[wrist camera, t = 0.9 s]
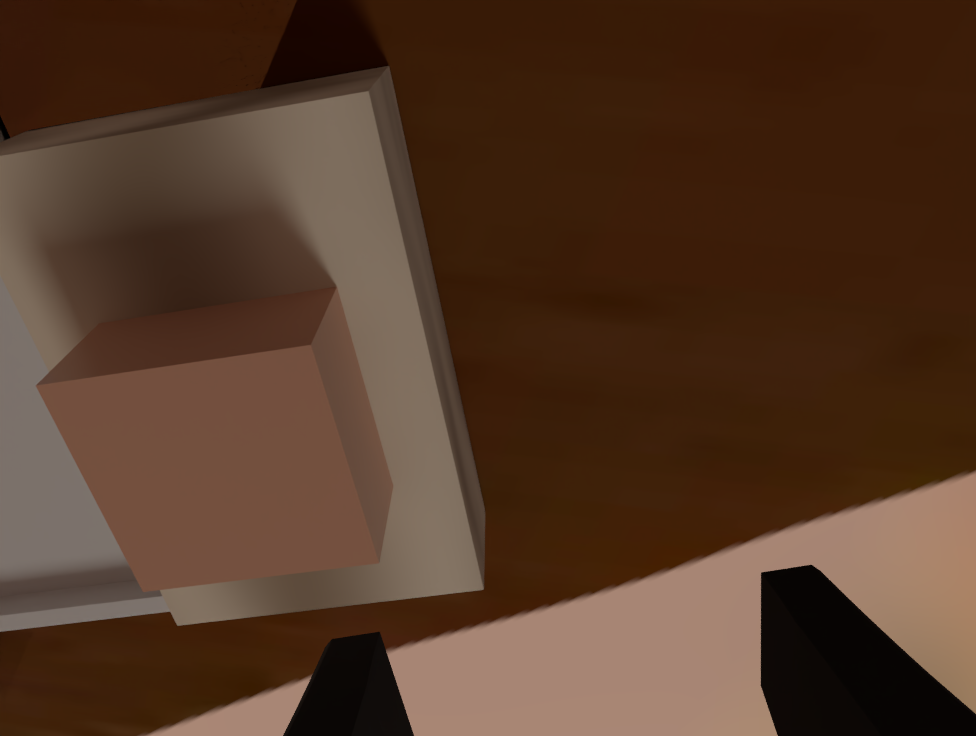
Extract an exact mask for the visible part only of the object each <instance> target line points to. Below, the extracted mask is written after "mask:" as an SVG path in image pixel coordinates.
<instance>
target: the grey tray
mask: <svg viewBox="0 0 976 736" xmlns="http://www.w3.org/2000/svg"><path fill="white" fill-rule="evenodd" d="M7 139H10V136H9V134H8V132H7V129H6V127H5V125H4V123H3V121H2V118H1V116H0V142H2V141H5V140H7ZM48 373H49V371H48V369H47V367H46V365H45V363H44V361H43V359H42V357H41V355H40V353H39V351H38V349H37V347H36V345H35V343H34V341H33V339H32V337H31V335H30V333H29V331H28V329H27V327H26V325H25V323H24V321H23V319H22V317H21V315H20V313H19V312H18V310H17V308H16V306H15V304H14V302H13V300H12V298H11V296H10V294H9V292H8V290H7V288H6V286H5V284H4V282H3V280H2V278H1V276H0V632H1V631H10V630H18V629H27V628H35V627H43V626H52V625H60V624H68V623H77V622H85V621H94V620H102V619H110V618H119V617H127V616H136V615H144V614H152V613H161V612H169V611H170V610H169V608H168V606H167V604H166V602H165V600H164V598H163V596H162V594H161V592H160V590H156V591H148V592H143V591H142V589H141V587H140V585H139V583H138V581H137V580H136V578H135V576H134V574H133V572H132V570H131V568H130V566H129V564H128V562H127V560H126V558H125V556H124V555H123V553H122V551H121V549H120V547H119V545H118V543H117V541H116V539H115V537H114V535H113V533H112V532H111V530H110V528H109V526H108V524H107V522H106V520H105V518H104V516H103V514H102V512H101V510H100V508H99V507H98V505H97V503H96V501H95V499H94V497H93V495H92V493H91V491H90V489H89V487H88V485H87V484H86V482H85V480H84V478H83V476H82V474H81V472H80V470H79V468H78V466H77V464H76V462H75V460H74V459H73V457H72V455H71V453H70V451H69V449H68V447H67V445H66V443H65V441H64V439H63V437H62V436H61V434H60V432H59V430H58V428H57V426H56V424H55V422H54V420H53V418H52V416H51V414H50V412H49V411H48V409H47V407H46V405H45V403H44V401H43V399H42V397H41V395H40V393H39V391H38V389H37V388H36V385H37V384H38V383H39V382H40V381H41V380H42V379H43V378H44V377H45V376H46V375H47V374H48Z"/></svg>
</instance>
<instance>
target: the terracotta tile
mask: <svg viewBox="0 0 976 736" xmlns="http://www.w3.org/2000/svg"><path fill="white" fill-rule="evenodd" d="M36 388H37V389H38V391H39V393H40V395H41V397H42V399H43V401H44V403H45V405H46V407H47V409H48V411H49V412H50V414H51V416H52V418H53V420H54V422H55V424H56V426H57V428H58V430H59V432H60V434H61V436H62V437H63V439H64V441H65V443H66V445H67V447H68V449H69V451H70V453H71V455H72V457H73V459H74V460H75V462H76V464H77V466H78V468H79V470H80V472H81V474H82V476H83V478H84V480H85V482H86V484H87V485H88V487H89V489H90V491H91V493H92V495H93V497H94V499H95V501H96V503H97V505H98V507H99V508H100V510H101V512H102V514H103V516H104V518H105V520H106V522H107V524H108V526H109V528H110V530H111V532H112V533H113V535H114V537H115V539H116V541H117V543H118V545H119V547H120V549H121V551H122V553H123V555H124V556H125V558H126V560H127V562H128V564H129V566H130V568H131V570H132V572H133V574H134V576H135V578H136V580H137V581H138V583H139V585H140V587H141V589H142V591H143V592H148V591H156V590H164V589H173V588H181V587H189V586H197V585H205V584H214V583H222V582H230V581H238V580H246V579H255V578H263V577H271V576H279V575H287V574H296V573H304V572H312V571H320V570H328V569H337V568H345V567H353V566H361V565H369V564H378V563H379V562H380V557H381V551H382V546H383V540H384V535H385V529H386V524H387V519H388V513H389V508H390V502H391V497H392V491H393V483H392V479H391V476H390V472H389V469H388V465H387V462H386V458H385V455H384V451H383V447H382V444H381V440H380V437H379V433H378V430H377V426H376V423H375V419H374V416H373V412H372V409H371V405H370V401H369V398H368V394H367V391H366V387H365V384H364V380H363V377H362V373H361V370H360V366H359V363H358V359H357V356H356V352H355V348H354V345H353V341H352V338H351V334H350V331H349V327H348V324H347V320H346V317H345V313H344V310H343V306H342V302H341V299H340V295H339V292H338V288H337V287H332V288H325V289H319V290H312V291H306V292H299V293H293V294H286V295H280V296H273V297H267V298H260V299H254V300H247V301H241V302H234V303H228V304H221V305H215V306H209V307H202V308H196V309H189V310H183V311H176V312H170V313H163V314H157V315H150V316H144V317H137V318H131V319H124V320H118V321H111V322H105V323H99V324H98V325H97V326H96V327H95V328H94V329H93V330H92V331H91V332H90V333H89V334H88V335H87V336H86V337H85V338H84V339H82V340H81V341H80V342H79V343H78V344H77V345H76V346H75V347H74V348H73V349H72V350H71V351H70V352H69V353H68V354H67V355H66V356H65V357H64V358H63V359H62V360H61V361H60V362H59V363H58V364H57V365H56V366H55V367H54V368H53V369H52V370H51V371H50V372H49V373H48V374H47V375H46V376H45V377H44V378H43V379H42V380H41V381H40V382H39V383H38V384H37V385H36Z"/></svg>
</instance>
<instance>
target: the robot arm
mask: <svg viewBox="0 0 976 736" xmlns="http://www.w3.org/2000/svg"><path fill="white" fill-rule="evenodd" d="M761 687H762V690H763V693H764V696H765V699H766V702H767V705H768V708H769V711H770V714H771V717H772V720H773V723H774V726H775V729H776V732H777V735H778V736H976V714H975V713H974V712H973V711H972V710H970V709H969V708H968V707H967V706H966V705H964V703H962V702H961V701H960V700H959V699H958V698H957V697H955V696H954V695H953V694H952V693H951V692H950V691H948V690H947V689H946V688H945V687H944V686H943V685H942V684H940V683H939V682H938V681H937V680H936V679H935V678H934V677H932V676H931V675H930V674H929V673H928V672H927V671H926V670H924V669H923V668H922V667H921V666H920V665H919V664H918V663H917V662H916V661H915V660H913V659H912V658H911V657H910V656H909V655H908V654H907V653H906V652H905V651H903V649H901V648H900V647H899V646H898V645H897V644H896V643H895V642H894V641H893V640H892V639H891V638H889V636H887V635H886V634H885V633H884V632H883V631H882V630H881V629H880V628H879V627H878V626H877V625H876V624H875V623H874V622H872V621H871V620H870V619H869V618H868V617H867V616H866V615H865V614H864V613H863V612H862V611H861V610H860V609H859V608H858V607H857V606H856V605H855V604H854V603H853V602H852V601H851V600H849V599H848V598H847V597H846V596H845V595H844V594H843V593H842V592H841V591H840V590H839V589H838V588H837V587H836V586H835V585H834V584H833V583H832V582H831V581H830V580H829V579H828V578H827V577H826V576H825V575H824V574H823V573H822V572H821V571H820V570H818V569H817V568H815V567H814V566H812V565H807V566H801V567H794V568H788V569H781V570H775V571H768V572H762V573H761ZM283 736H414V734H413V732H412V728H411V725H410V722H409V720H408V716H407V714H406V710H405V707H404V704H403V701H402V698H401V695H400V692H399V689H398V686H397V683H396V680H395V677H394V674H393V671H392V668H391V665H390V662H389V659H388V656H387V653H386V650H385V647H384V644H383V641H382V638H381V635H380V632H375V633H369V634H363V635H356V636H350V637H343V638H337V639H332V640H331V641H330V642H329V643H328V645H327V646H326V647H325V649H324V651H323V654H322V656H321V658H320V660H319V662H318V664H317V667H316V669H315V671H314V673H313V675H312V677H311V679H310V682H309V684H308V686H307V688H306V690H305V692H304V694H303V696H302V698H301V701H300V703H299V705H298V707H297V709H296V711H295V713H294V715H293V717H292V719H291V721H290V723H289V725H288V727H287V729H286V731H285V733H284V735H283Z"/></svg>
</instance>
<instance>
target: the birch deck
mask: <svg viewBox="0 0 976 736" xmlns="http://www.w3.org/2000/svg"><path fill="white" fill-rule="evenodd" d="M0 276H1V278H2V280H3V282H4V284H5V286H6V288H7V290H8V292H9V294H10V296H11V298H12V300H13V302H14V304H15V306H16V308H17V310H18V312H19V313H20V315H21V317H22V319H23V321H24V323H25V325H26V327H27V329H28V331H29V333H30V335H31V337H32V339H33V341H34V343H35V345H36V347H37V349H38V351H39V353H40V355H41V357H42V359H43V361H44V363H45V365H46V367H47V369H48V371H49V372H50V371H51V370H52V369H53V368H54V367H55V366H56V365H57V364H58V363H59V362H60V361H61V360H62V359H63V358H64V357H65V356H66V355H67V354H68V353H69V352H70V351H71V350H72V349H73V348H74V347H75V346H76V345H77V344H78V343H79V342H80V341H81V340H82V339H84V338H85V337H86V336H87V335H88V334H89V333H90V332H91V331H92V330H93V329H94V328H95V327H96V326H97V325H98V324H99V323H105V322H111V321H118V320H124V319H131V318H137V317H144V316H150V315H157V314H163V313H170V312H176V311H183V310H189V309H196V308H202V307H209V306H215V305H221V304H228V303H234V302H241V301H247V300H254V299H260V298H267V297H273V296H280V295H286V294H293V293H299V292H306V291H312V290H319V289H325V288H332V287H337V288H338V292H339V295H340V299H341V302H342V306H343V310H344V313H345V317H346V320H347V324H348V327H349V331H350V334H351V338H352V341H353V345H354V348H355V352H356V356H357V359H358V363H359V366H360V370H361V373H362V377H363V380H364V384H365V387H366V391H367V394H368V398H369V401H370V405H371V409H372V412H373V416H374V419H375V423H376V426H377V430H378V433H379V437H380V440H381V444H382V447H383V451H384V455H385V458H386V462H387V465H388V469H389V472H390V476H391V479H392V483H393V491H392V497H391V502H390V508H389V513H388V519H387V524H386V529H385V535H384V540H383V546H382V551H381V557H380V562H379V563H378V564H369V565H361V566H353V567H345V568H337V569H328V570H320V571H312V572H304V573H296V574H287V575H279V576H271V577H263V578H255V579H246V580H238V581H230V582H222V583H214V584H205V585H197V586H189V587H181V588H173V589H164V590H160V592H161V594H162V596H163V598H164V600H165V602H166V604H167V606H168V608H169V610H170V612H171V614H172V616H173V618H174V620H175V622H176V624H177V626H179V625H187V624H196V623H204V622H213V621H221V620H230V619H238V618H247V617H255V616H264V615H272V614H281V613H289V612H298V611H307V610H315V609H324V608H332V607H341V606H349V605H358V604H366V603H375V602H383V601H392V600H400V599H409V598H417V597H426V596H434V595H443V594H451V593H460V592H468V591H477V590H484V549H485V509H484V504H483V499H482V495H481V490H480V485H479V481H478V476H477V471H476V467H475V462H474V458H473V453H472V448H471V444H470V439H469V434H468V430H467V425H466V420H465V416H464V411H463V407H462V402H461V397H460V393H459V388H458V383H457V379H456V374H455V369H454V365H453V360H452V356H451V351H450V346H449V342H448V337H447V332H446V328H445V323H444V319H443V314H442V309H441V305H440V300H439V295H438V291H437V286H436V281H435V277H434V272H433V268H432V263H431V258H430V254H429V249H428V244H427V240H426V235H425V230H424V226H423V221H422V217H421V212H420V207H419V203H418V198H417V193H416V189H415V184H414V179H413V175H412V170H411V166H410V161H409V156H408V152H407V147H406V142H405V138H404V133H403V128H402V124H401V119H400V115H399V110H398V105H397V101H396V96H395V91H394V87H393V82H392V77H391V73H390V68H389V66H385V67H379V68H373V69H368V70H362V71H357V72H351V73H345V74H340V75H334V76H329V77H323V78H317V79H312V80H306V81H301V82H295V83H289V84H284V85H278V86H273V87H267V88H262V89H256V90H250V91H245V92H239V93H234V94H228V95H222V96H217V97H211V98H206V99H200V100H194V101H189V102H183V103H178V104H172V105H166V106H161V107H155V108H150V109H144V110H139V111H133V112H127V113H122V114H116V115H111V116H105V117H99V118H94V119H88V120H83V121H77V122H71V123H66V124H60V125H55V126H49V127H43V128H38V129H32V130H29V131H26V132H24V133H21V134H19V135H17V136H14V137H12V138H10V139H7V140H5V141H2V142H0Z"/></svg>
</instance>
